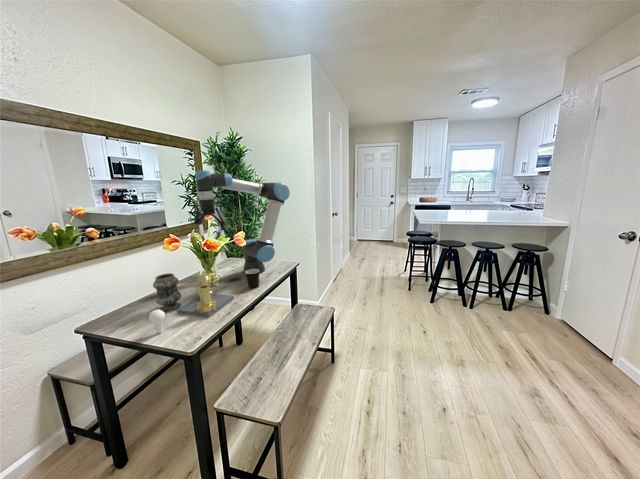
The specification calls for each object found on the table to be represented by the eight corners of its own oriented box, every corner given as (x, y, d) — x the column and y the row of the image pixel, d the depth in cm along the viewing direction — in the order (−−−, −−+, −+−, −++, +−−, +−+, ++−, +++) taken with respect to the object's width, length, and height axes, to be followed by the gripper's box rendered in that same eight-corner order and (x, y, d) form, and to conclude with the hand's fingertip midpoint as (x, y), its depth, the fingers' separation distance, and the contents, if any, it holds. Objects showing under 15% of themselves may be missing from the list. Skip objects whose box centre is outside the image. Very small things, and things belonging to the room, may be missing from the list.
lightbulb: (153, 338, 118) (148, 315, 115) (151, 332, 123) (147, 310, 120) (168, 333, 121) (164, 310, 119) (166, 327, 126) (162, 305, 124)
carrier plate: (205, 295, 159) (203, 281, 157) (234, 298, 153) (232, 284, 151) (177, 313, 139) (174, 297, 137) (209, 317, 134) (206, 300, 132)
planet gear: (205, 304, 144) (202, 282, 141) (220, 305, 141) (217, 284, 138) (193, 312, 135) (189, 289, 133) (208, 314, 133) (205, 291, 130)
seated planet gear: (205, 292, 159) (202, 272, 156) (218, 293, 156) (215, 273, 153) (193, 299, 150) (190, 278, 147) (207, 300, 148) (204, 279, 145)
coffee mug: (257, 289, 164) (255, 274, 162) (244, 289, 166) (242, 273, 164) (264, 282, 175) (263, 267, 173) (252, 281, 177) (250, 267, 175)
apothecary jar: (174, 300, 154) (168, 270, 150) (187, 304, 148) (182, 273, 144) (152, 310, 144) (146, 278, 139) (166, 315, 138) (160, 281, 134)
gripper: (183, 200, 153) (189, 236, 159) (222, 199, 147) (227, 237, 152) (192, 198, 160) (198, 233, 166) (229, 197, 154) (234, 234, 159)
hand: (212, 235), depth 159 cm, fingers open, 13 cm apart
